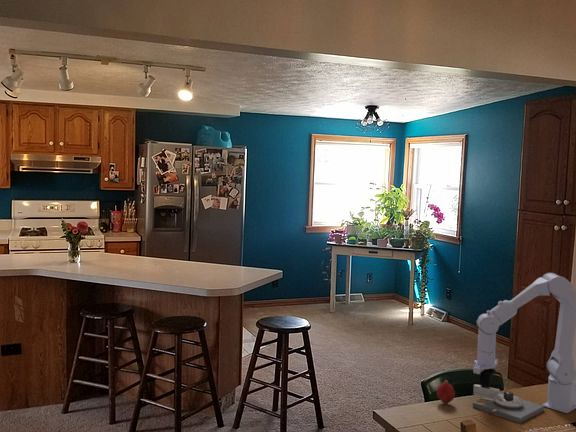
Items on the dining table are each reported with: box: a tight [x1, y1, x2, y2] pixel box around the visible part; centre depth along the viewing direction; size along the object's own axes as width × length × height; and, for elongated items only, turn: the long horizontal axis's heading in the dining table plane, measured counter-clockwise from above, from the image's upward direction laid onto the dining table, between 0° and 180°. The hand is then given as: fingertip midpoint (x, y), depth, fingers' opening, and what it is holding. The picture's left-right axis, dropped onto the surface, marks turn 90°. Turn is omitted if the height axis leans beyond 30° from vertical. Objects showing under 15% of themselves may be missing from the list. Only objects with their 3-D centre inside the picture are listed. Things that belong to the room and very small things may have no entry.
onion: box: [436, 379, 456, 405], centre depth 180 cm, size 6×6×8 cm
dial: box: [472, 384, 524, 409], centre depth 179 cm, size 16×9×4 cm, turn 56°
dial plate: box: [472, 392, 545, 424], centre depth 177 cm, size 16×18×2 cm
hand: (484, 390), depth 183 cm, fingers closed, pressing on dial
